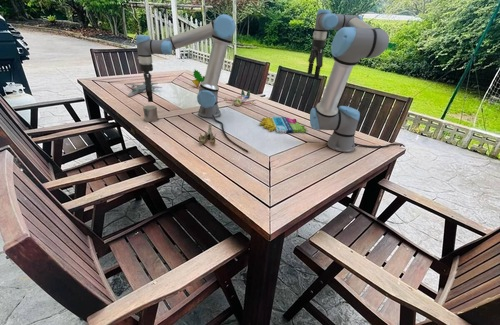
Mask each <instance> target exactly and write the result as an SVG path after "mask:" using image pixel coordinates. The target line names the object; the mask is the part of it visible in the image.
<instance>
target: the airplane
mask: <svg viewBox="0 0 500 325" xmlns="http://www.w3.org/2000/svg"><path fill="white" fill-rule="evenodd" d="M152 76H153V74H151V78H152ZM128 85H130V86H131V87H130V89H132V90H131V91H130V92H129V93H128V95H127V96H126V98H128V97H133V96H135V95H137V94H139V93H146V85H145V81H142V84H136V83H135V84H134V83H128ZM155 85H159V82H158V83H157V82H153V81H152V80H151V87H152V91H153V90H155V89H157V88H159V89H162V88H163V86H155Z"/></svg>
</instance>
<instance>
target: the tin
mask: <svg viewBox="0 0 500 325" xmlns="http://www.w3.org/2000/svg"><path fill="white" fill-rule="evenodd" d="M142 111H143V118H144V122H147V123H154V122H158V120H159V117H158V109H157V105H149V104H148V105H145V106H143V107H142Z"/></svg>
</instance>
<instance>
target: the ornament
mask: <svg viewBox="0 0 500 325" xmlns="http://www.w3.org/2000/svg"><path fill="white" fill-rule="evenodd" d="M192 75H193V77H194V79H193V80H191V83H192V84H194V86H195V87H197V88H199V89H200V83H201V82H203V81H204V79H205V75H202V73H201V71H199V70H197V69H194V70H193V74H192Z"/></svg>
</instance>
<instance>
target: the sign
mask: <svg viewBox="0 0 500 325" xmlns="http://www.w3.org/2000/svg"><path fill="white" fill-rule="evenodd" d="M259 126H262V127H263V129H266V130H268V131H269V132H270V133H271V132H273V131H276V133H277V134H293V133H301V134H305V132H306V131H307V128H306V127H305V125H304V124H300V122H297V118H289V117H286V116H271V117H270V116H269V117H262V121H261V122H259Z"/></svg>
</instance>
